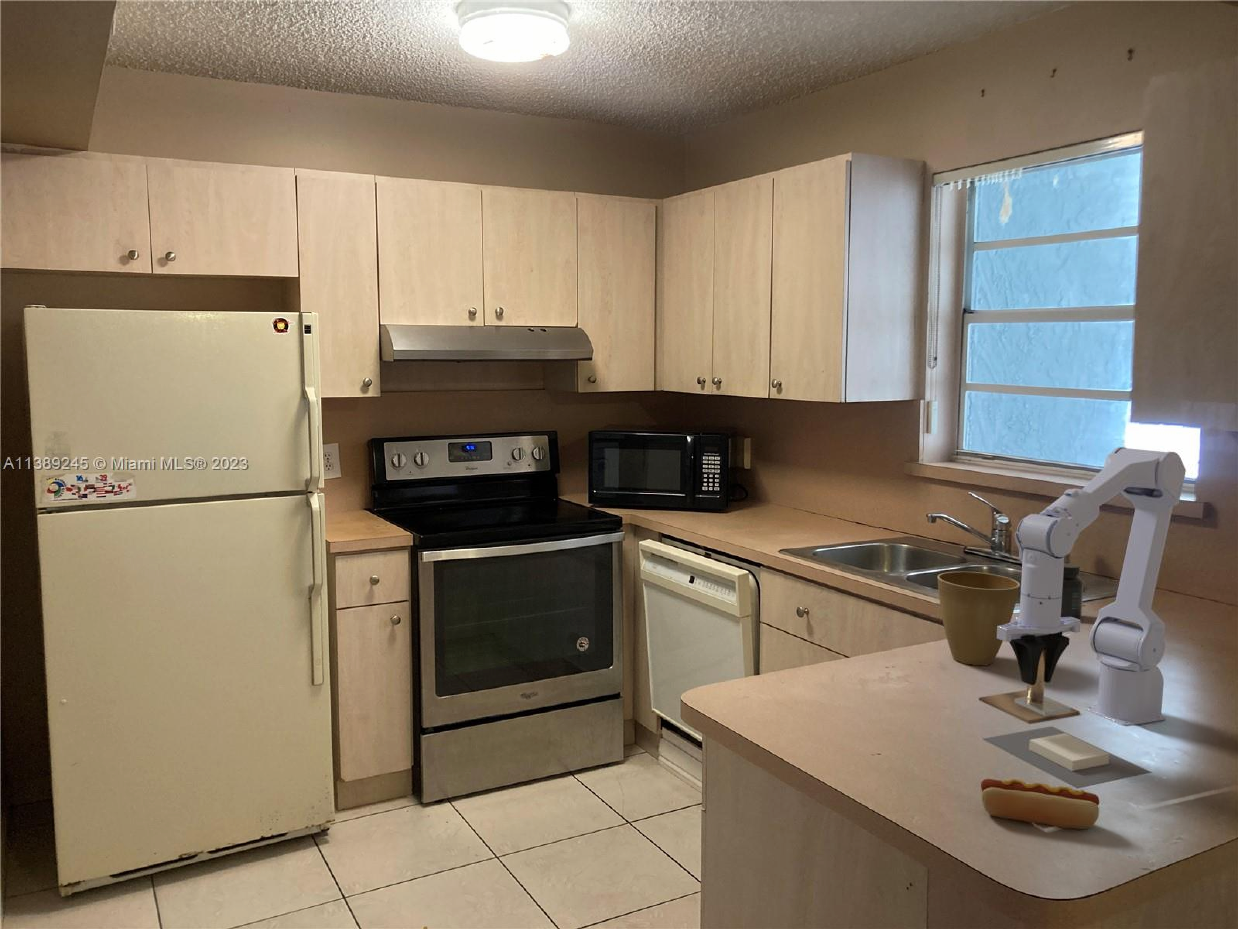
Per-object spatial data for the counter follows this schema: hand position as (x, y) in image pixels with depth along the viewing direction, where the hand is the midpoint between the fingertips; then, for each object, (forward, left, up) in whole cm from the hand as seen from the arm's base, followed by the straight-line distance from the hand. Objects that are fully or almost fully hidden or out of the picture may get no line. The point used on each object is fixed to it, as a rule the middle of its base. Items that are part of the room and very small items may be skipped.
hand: (1035, 681), depth 148 cm
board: (-10, -11, -10) cm, 18 cm away
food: (+18, +19, -10) cm, 29 cm away
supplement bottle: (-61, -52, -10) cm, 81 cm away
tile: (0, +3, -8) cm, 9 cm away
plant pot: (-20, -35, -10) cm, 41 cm away
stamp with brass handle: (0, +1, -3) cm, 4 cm away
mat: (0, +6, -10) cm, 11 cm away
